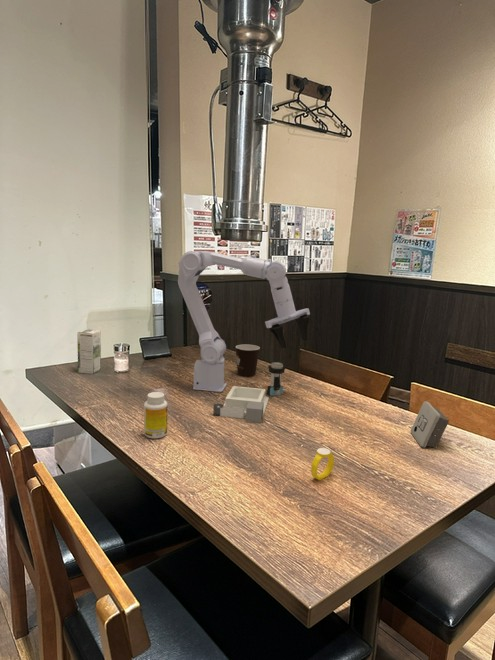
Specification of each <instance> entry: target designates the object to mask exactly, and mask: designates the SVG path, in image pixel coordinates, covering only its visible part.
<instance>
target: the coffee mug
mask: <svg viewBox="0 0 495 660" xmlns="http://www.w3.org/2000/svg"><path fill="white" fill-rule="evenodd" d="M260 348H261V347H260V346H258V345H256V344H255V345H254V344H248V343H247V344H246V343H245V344H238V345H236V346H235V355H236V367H237V368H236V371H237V375H238V376H240V377H243V378H252V377H254V376H256V373H257V367H258V360H259V356H260V355H259V354H260Z"/></svg>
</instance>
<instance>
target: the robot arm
mask: <svg viewBox="0 0 495 660" xmlns="http://www.w3.org/2000/svg"><path fill="white" fill-rule="evenodd" d="M215 265H216V266H221V267H227V268H231V269H236V270H237V269H238V270H240V271H241V272H242V274H243V275H245V276H250V277H254V278H258V279H261V280H264V279H266V280H267V281H268V282H269V285H270V291H271V294H272V299H273V303H274V308H275V312H276V315H277V317H275V318H271V319H269V320H266V321H264V324H265V326H266V328H267V329H268V331H270V333H272V335H273V336H274V338H276V340H277V342H278V344H279V347H281V348H282V349H286V348H287V343H286V341H285V337H284V329H283V326H281V325H282V324H285V323H287V322H290V321H294V320H295V322H296V324H297V326H298V327H297V328H298V329H299V332H300V338H301V340H302V341H307V340H308V329H309V328H308V327H309V322H310V315H311V312H310V309H309V308H303V309H299V310H296V307H295V303H294V299H293V295H292V291H291V287H290V284H289V281H288V278H287V276H286V274H287V269H286V266H285V264H284V263H281V262H280V261H278V260H277V261H273V262H272V259H270V258H267V259H264V258H259V257H257V255H256V254H251V256H250V255H247V256H246V257H244V258H238V257H235V256H232V255H227V254H224V253H219V252H216V251H202V250H194V251H193V250H189V251H186V252H185V253H183V255H182V256H181V258H180V260H179V261H178V278H177V284H178V288H179V290H180V292H181V294H182V297H183V299H184V302H185V304H186V307H187V310H188V312H189V315H190V316H191V319H192V321H193V325H194V326H195V329H196V331H197V333H198V344H199V346H200V357H201V359H196V360H195V363H194V367H193V386H192V387H193V388H192V389H193V390H196V391H206V392H217V393H222V392H223V391H224V390H225V388H226V386H227V385H228V383H227V382H225V362H226V361H225V360H226V359H225V357H224V354H225V353H226V351H227V345H226V343H225V340H224V339H222V338H221V336H220V334H219V332H218V331H216V329H215V328H214V325H213V323H212V320H211V318H210V316H209V313H208V311H207V308H206V306H205V303H204V301H203V298H202V296H201V293H200V292H199V291H200V290H199V289H198V286H197V282H198V279H199V278H200V275H201V274H202V273H203V271H205V270H206V268H207V267H212V266H215Z"/></svg>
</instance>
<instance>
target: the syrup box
mask: <svg viewBox="0 0 495 660" xmlns="http://www.w3.org/2000/svg"><path fill="white" fill-rule="evenodd" d="M76 336H77V373H78V374H89V375H90V374H91V375H94V374H95V373H97V372H99V371H100V370H101V369H102V366H101V364H102V353H101V351H102V350H101V349H102V347H101V346H102V344H101V343H102V342H101V340H102V339H101V337H102V336H101V330H99V329H92V328H88V329H86V328H85V329H83V330H81V331H78V332H77V335H76Z"/></svg>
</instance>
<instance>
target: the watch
mask: <svg viewBox="0 0 495 660" xmlns="http://www.w3.org/2000/svg"><path fill="white" fill-rule="evenodd" d="M323 458H327V464H326V466H325V468H324V470H323V472H321V473H319V474H318V468H319V465H320V462H321V461H322V459H323ZM334 464H335V456H334V454H333V453H332V452H331V450H330V449H328V448H325V447H319V448H318V449H317V450H316V454H315V456H314V458H313V460H312V462H311V467H310V473H311V476H312V477H313V478H314V479H316V480H318V481H321V480H324V479H326V478H328V477H329V476H330V475H331V473H332V471H333V468H334Z"/></svg>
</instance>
